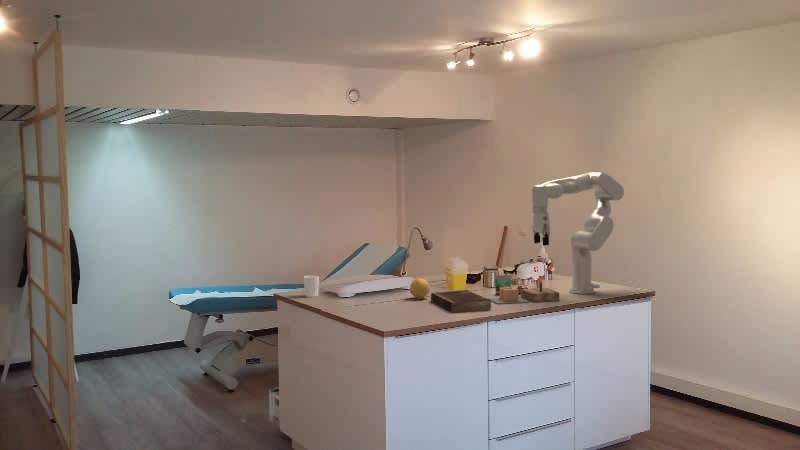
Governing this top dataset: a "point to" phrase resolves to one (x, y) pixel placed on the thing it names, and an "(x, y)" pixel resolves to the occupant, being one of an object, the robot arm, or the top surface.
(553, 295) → the stand
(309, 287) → the white cup
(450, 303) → the hardback book
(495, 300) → the mat
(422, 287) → the stress ball
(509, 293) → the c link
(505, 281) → the food container
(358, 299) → the top surface
